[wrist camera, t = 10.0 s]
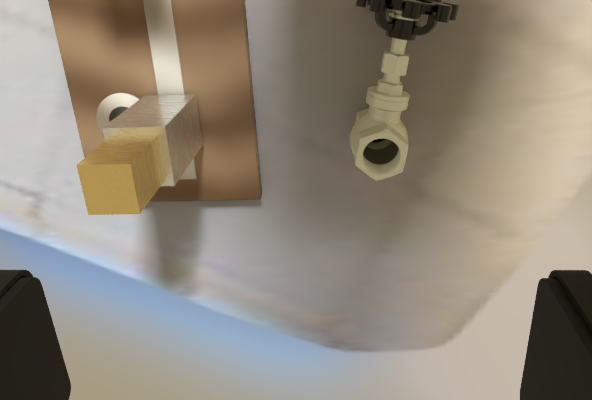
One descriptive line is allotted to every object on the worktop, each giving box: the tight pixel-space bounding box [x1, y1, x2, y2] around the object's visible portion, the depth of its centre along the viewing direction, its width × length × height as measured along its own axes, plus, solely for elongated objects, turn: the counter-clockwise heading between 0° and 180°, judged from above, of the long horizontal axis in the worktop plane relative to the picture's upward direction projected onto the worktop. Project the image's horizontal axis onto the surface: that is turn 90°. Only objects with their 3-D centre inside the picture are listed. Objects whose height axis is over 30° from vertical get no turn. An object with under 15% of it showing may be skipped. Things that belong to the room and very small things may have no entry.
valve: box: [350, 0, 459, 181], centre depth 38 cm, size 7×7×12 cm
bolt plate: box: [48, 0, 262, 201], centre depth 36 cm, size 30×14×10 cm, turn 3°
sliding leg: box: [77, 94, 203, 215], centre depth 36 cm, size 4×6×13 cm, turn 93°
